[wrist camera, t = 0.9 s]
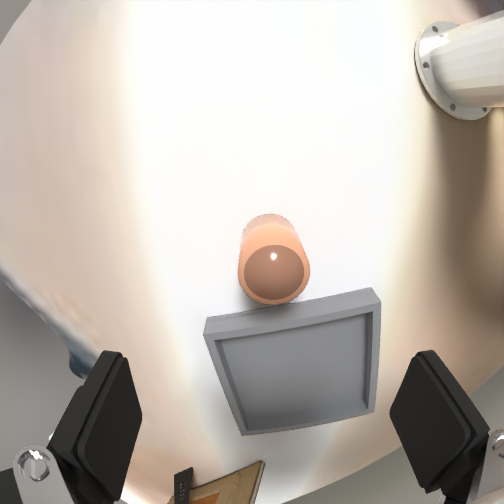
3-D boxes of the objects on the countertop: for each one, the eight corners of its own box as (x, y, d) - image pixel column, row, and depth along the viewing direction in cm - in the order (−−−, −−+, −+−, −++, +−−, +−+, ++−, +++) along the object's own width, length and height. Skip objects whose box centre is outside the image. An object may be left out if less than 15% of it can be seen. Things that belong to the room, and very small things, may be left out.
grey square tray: (371, 287, 35) (381, 301, 32) (368, 396, 42) (373, 412, 39) (206, 317, 37) (203, 334, 33) (242, 418, 44) (241, 435, 40)
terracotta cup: (292, 209, 32) (305, 232, 24) (301, 261, 34) (313, 297, 26) (235, 219, 32) (230, 246, 25) (247, 271, 34) (245, 310, 27)
